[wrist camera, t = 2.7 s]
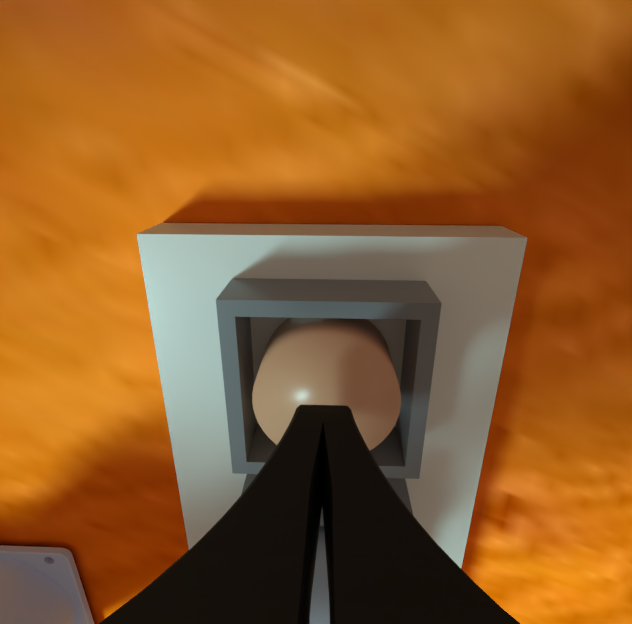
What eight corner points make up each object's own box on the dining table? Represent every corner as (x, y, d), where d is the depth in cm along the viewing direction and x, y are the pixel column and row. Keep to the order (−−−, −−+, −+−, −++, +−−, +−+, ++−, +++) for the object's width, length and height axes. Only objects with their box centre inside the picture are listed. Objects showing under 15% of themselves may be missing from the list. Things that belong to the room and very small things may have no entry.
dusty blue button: (270, 596, 17) (262, 658, 15) (265, 518, 15) (255, 576, 13) (377, 600, 17) (383, 664, 15) (384, 522, 15) (392, 581, 13)
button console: (221, 650, 24) (200, 742, 20) (161, 222, 14) (103, 248, 11) (426, 659, 24) (443, 754, 20) (502, 225, 14) (562, 253, 10)
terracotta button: (266, 417, 15) (256, 459, 13) (260, 305, 13) (247, 334, 11) (386, 420, 15) (395, 463, 13) (395, 307, 13) (407, 337, 11)
